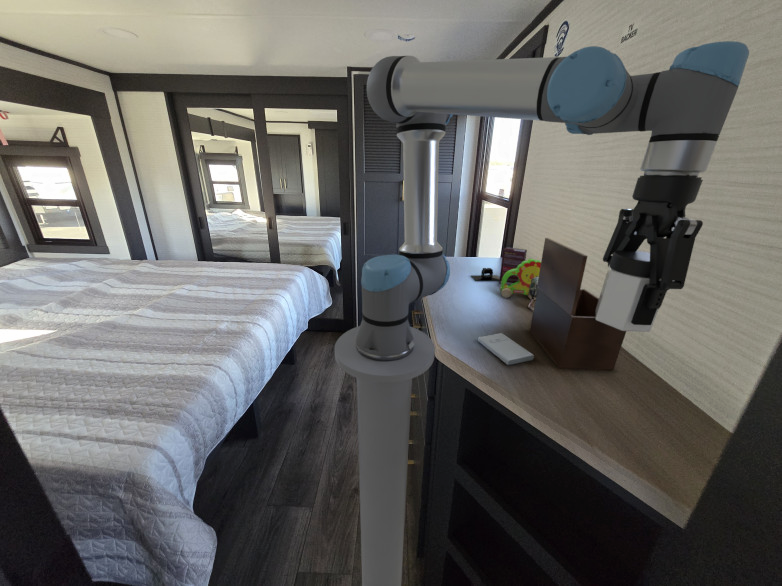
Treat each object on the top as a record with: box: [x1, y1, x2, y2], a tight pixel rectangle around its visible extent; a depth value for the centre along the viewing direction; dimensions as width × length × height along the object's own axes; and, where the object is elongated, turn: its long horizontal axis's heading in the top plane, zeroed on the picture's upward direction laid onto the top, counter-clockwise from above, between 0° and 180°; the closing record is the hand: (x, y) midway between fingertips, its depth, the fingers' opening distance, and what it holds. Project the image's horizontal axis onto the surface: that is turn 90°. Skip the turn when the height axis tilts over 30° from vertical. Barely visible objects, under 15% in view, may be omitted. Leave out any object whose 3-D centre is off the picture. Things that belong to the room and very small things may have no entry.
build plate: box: [470, 267, 500, 282], centre depth 140 cm, size 12×7×5 cm, turn 95°
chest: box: [529, 288, 627, 371], centre depth 83 cm, size 13×19×14 cm
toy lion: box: [499, 258, 541, 301], centre depth 118 cm, size 16×5×15 cm, turn 81°
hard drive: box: [477, 332, 535, 366], centre depth 84 cm, size 2×8×12 cm
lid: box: [537, 237, 588, 315], centre depth 78 cm, size 14×19×1 cm
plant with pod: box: [527, 276, 539, 312], centre depth 106 cm, size 8×11×20 cm
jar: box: [595, 250, 661, 333], centre depth 53 cm, size 9×8×12 cm
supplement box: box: [498, 246, 528, 287], centre depth 129 cm, size 9×5×16 cm, turn 59°
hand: (623, 312), depth 55 cm, fingers closed on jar, 8 cm apart
